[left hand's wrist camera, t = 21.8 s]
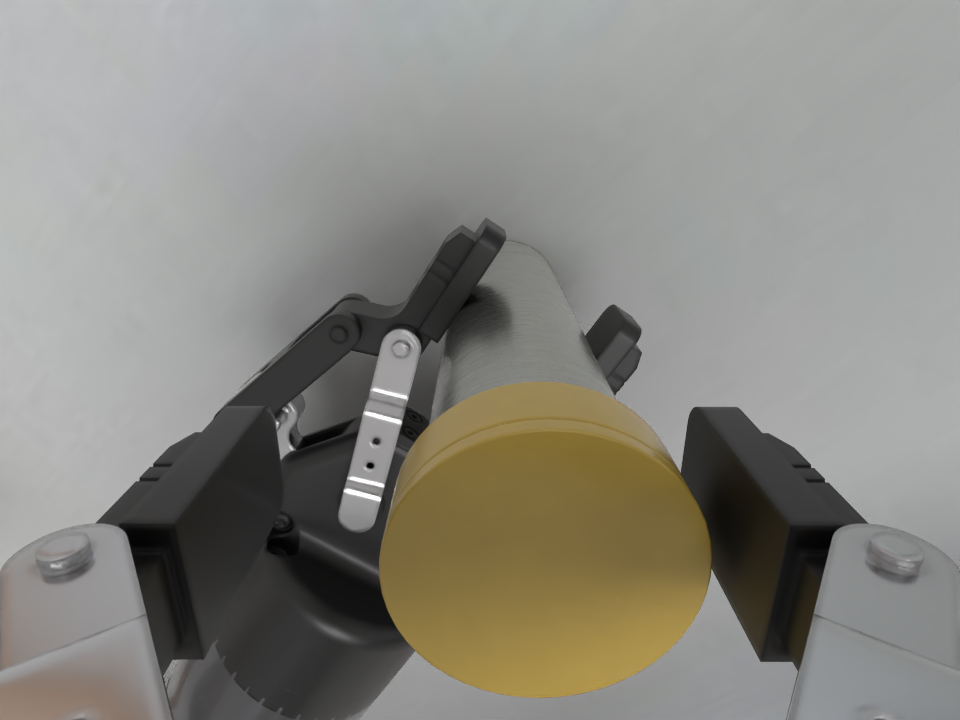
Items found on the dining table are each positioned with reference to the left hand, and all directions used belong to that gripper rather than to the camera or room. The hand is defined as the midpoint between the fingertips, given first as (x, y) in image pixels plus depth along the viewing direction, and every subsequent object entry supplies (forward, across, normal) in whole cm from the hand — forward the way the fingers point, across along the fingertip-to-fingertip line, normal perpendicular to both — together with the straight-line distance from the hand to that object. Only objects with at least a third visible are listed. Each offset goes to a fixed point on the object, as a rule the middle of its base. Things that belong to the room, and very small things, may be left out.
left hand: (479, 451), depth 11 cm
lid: (-2, -1, +1) cm, 2 cm away
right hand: (+8, -2, -1) cm, 9 cm away
